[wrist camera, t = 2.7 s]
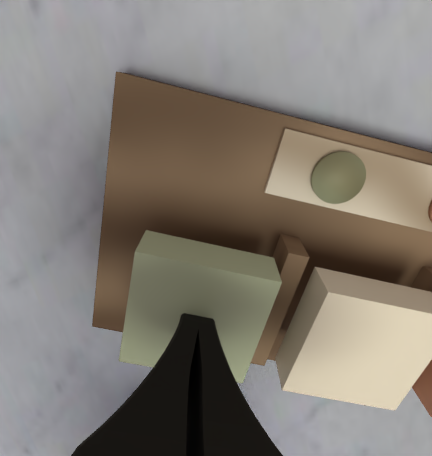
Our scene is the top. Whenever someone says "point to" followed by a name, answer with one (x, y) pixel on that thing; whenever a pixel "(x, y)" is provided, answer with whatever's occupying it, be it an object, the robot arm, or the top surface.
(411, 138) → the top surface
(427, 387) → the terracotta key
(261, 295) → the green key
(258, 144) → the keypad board
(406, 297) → the cream key
